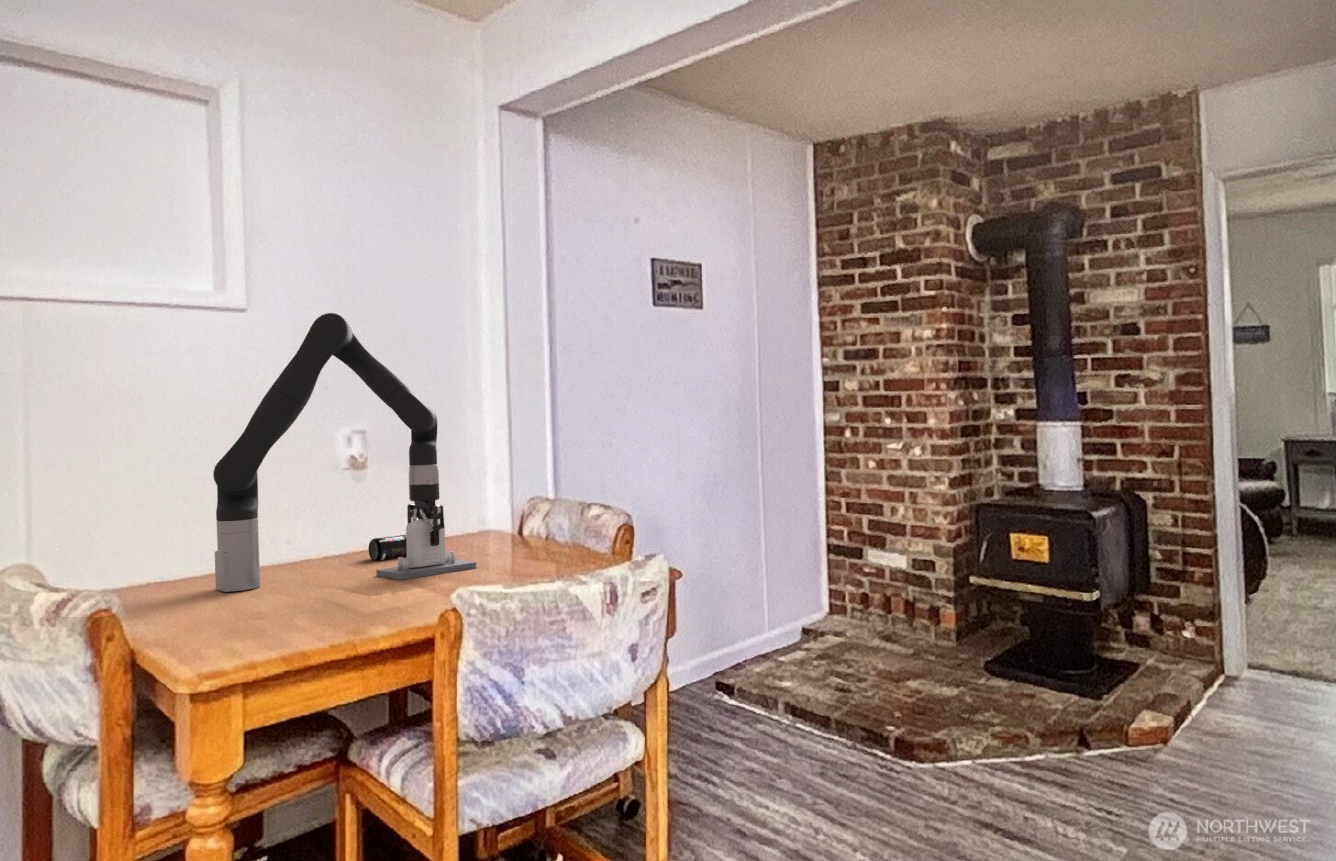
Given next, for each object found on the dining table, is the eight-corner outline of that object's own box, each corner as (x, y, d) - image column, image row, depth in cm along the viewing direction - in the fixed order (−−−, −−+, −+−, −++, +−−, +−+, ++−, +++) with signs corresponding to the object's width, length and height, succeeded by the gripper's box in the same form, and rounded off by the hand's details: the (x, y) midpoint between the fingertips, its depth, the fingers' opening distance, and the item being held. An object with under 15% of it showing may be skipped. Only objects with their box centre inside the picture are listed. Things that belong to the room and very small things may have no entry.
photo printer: (440, 562, 231) (438, 516, 231) (448, 564, 228) (446, 517, 228) (404, 568, 224) (402, 520, 224) (412, 569, 221) (410, 520, 221)
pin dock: (476, 567, 230) (475, 550, 230) (400, 580, 214) (399, 561, 214) (451, 564, 238) (451, 548, 238) (376, 575, 222) (375, 558, 222)
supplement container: (365, 548, 252) (398, 544, 259) (373, 566, 248) (406, 562, 256) (372, 533, 248) (406, 529, 256) (380, 551, 245) (414, 547, 252)
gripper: (397, 483, 228) (399, 544, 228) (425, 483, 218) (427, 548, 218) (422, 481, 234) (424, 541, 234) (451, 481, 224) (453, 544, 224)
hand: (426, 544), depth 226 cm, fingers open, 8 cm apart
